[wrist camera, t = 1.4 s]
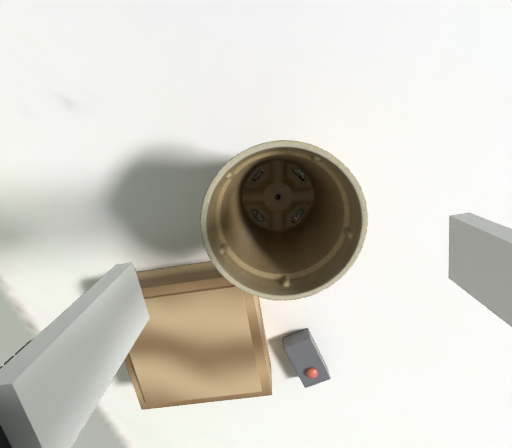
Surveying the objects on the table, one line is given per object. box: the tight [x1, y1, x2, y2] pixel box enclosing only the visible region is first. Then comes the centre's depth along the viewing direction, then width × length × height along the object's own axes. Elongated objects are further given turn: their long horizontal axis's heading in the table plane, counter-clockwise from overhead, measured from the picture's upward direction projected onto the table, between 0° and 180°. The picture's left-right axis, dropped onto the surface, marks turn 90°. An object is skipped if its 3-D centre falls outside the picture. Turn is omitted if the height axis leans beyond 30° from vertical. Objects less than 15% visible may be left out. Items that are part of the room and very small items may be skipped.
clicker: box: [283, 328, 330, 388], centre depth 29 cm, size 5×3×2 cm, turn 25°
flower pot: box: [201, 140, 368, 300], centre depth 21 cm, size 9×9×9 cm
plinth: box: [125, 261, 272, 410], centre depth 28 cm, size 12×12×4 cm
